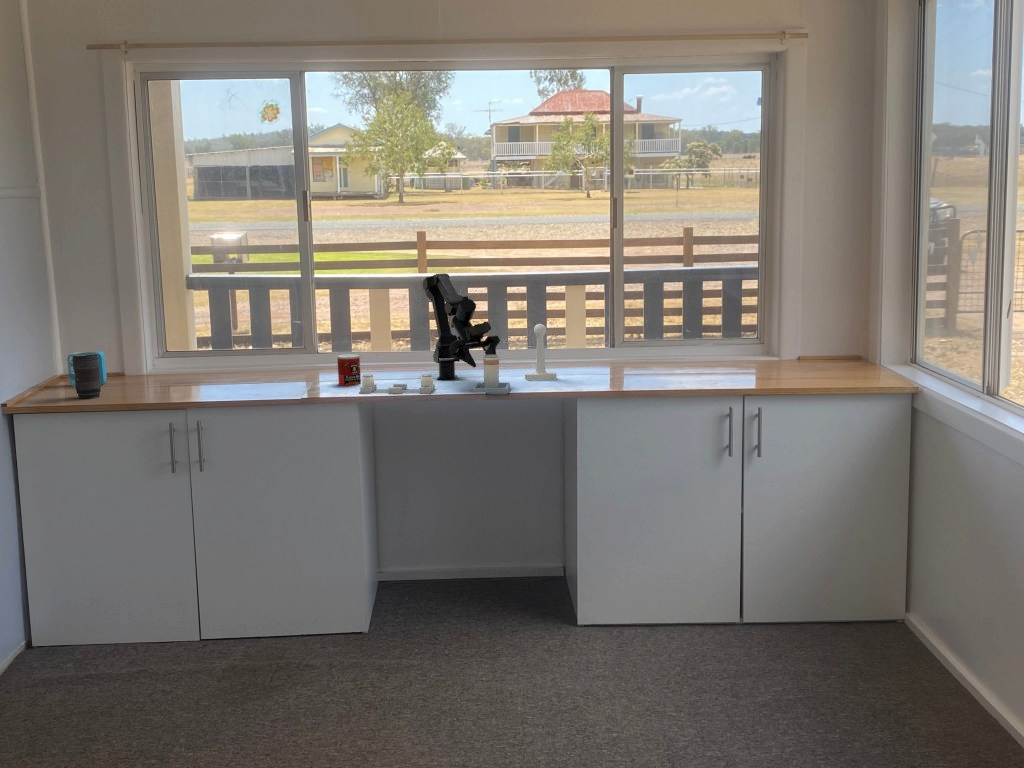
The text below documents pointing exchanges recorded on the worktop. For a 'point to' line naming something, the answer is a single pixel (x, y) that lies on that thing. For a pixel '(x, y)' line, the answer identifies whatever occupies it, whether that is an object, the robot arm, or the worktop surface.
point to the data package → (101, 367)
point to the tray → (492, 389)
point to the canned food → (349, 370)
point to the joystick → (540, 358)
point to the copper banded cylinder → (491, 371)
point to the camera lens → (87, 374)
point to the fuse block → (397, 389)
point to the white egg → (368, 381)
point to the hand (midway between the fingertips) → (486, 365)
